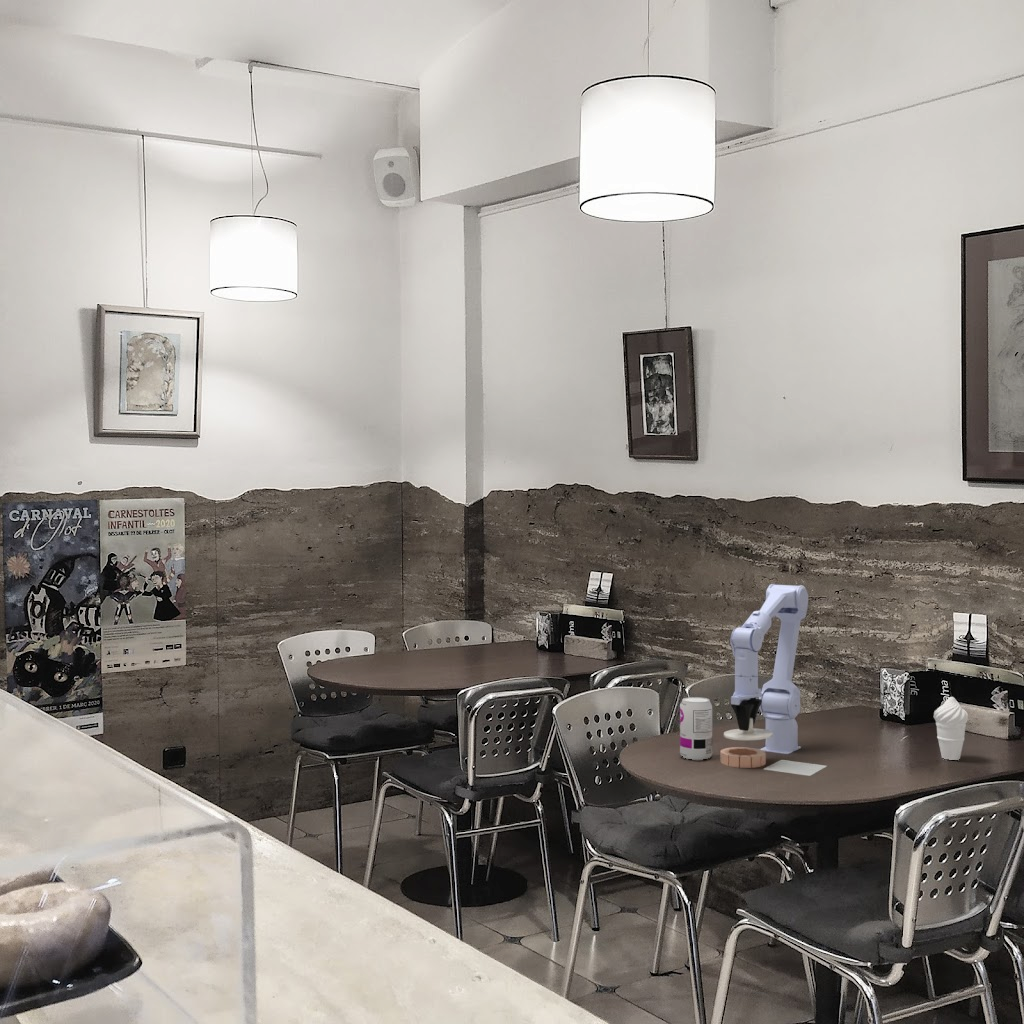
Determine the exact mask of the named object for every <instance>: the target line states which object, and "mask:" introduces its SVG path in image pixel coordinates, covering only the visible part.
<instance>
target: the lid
mask: <svg viewBox="0 0 1024 1024" xmlns="http://www.w3.org/2000/svg"><path fill="white" fill-rule="evenodd" d="M772 736H773V735H772V731H770V730H766V728H754V727H753V718H750V723H749V729H748V731H744V730H740V729H739V728H736V729H735V728H734V729H729V730H726V731H724V732H723V737H724V738H725V739H727V740H734V741H760V740H761V741H762V740H766V739H767V738H770V737H772Z"/></svg>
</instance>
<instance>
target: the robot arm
mask: <svg viewBox="0 0 1024 1024" xmlns="http://www.w3.org/2000/svg"><path fill="white" fill-rule="evenodd" d="M808 605H809V595H808V590H807V589H806V587H805V586H804V585H802V584H801V585H790V584H787V585H786V584H775V583H770V584H769V586H767V589H766V591H765V601H764V602H763V604H762V605H761V607H760V608H759V610H754V611H753V612H752V613H751V614H750V616H749V617H748V618H747V619H746V621H745V622H744V623H743V624H742V625H741V627H739V626H738V627H736V628H734V629H733V630H732V632H731V636H730V640H729V642H730V646H731V649H732V657H733V658H734V691H733V694H732V696H730V706H731V708H732V709H733V712H734V714H735V717H736V720H737V721H736V722H737V726H738V729H740V730H744V731H748V729H749V723H750V718H753V728H754V727H755V723H756V718H757V715H758V712H759V711H760V713H761V714H762V717H765V729H766V730H770V731H772V735H773V736H772V737H770V738H767V739H765V746H764V747H762V748H759V749H760V750H763V751H765V752H768V753H770V752H771V753H775V754H785V755H790V754H791V753H794V752H795V751H797V750H799V749H800V750H801V749H802V746H799V745H798V743H799V741H798V740H799V739H798V737H799V736H798V733H799V731H798V730H799V729H798V722H797V720H796V717H797V716H798V715H799V713H800V710H801V690H800V688H799V687H798V686H797V685H795V683H793V681H792V680H793V673H794V669H795V668H794V667H795V660H796V654H797V647H798V642H799V641H798V640H799V634H800V626H801V621H802V620H804V619H806V616H807V611H808ZM774 617H776V618H778V619H779V620H780V629H779V634H778V640H777V648H776V652H775V653H776V655H775V661H774V666H773V667H774V668H773V674H772V678H771V679H770V680H768V681H766V682H765V683H764V684H763V685H762V688H759V651H760V650H761V648H762V646H763V641H764V640H765V635H766V633H767V632H768V631H769V630H770V628H771V627H772V619H773V618H774Z"/></svg>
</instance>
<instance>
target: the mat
mask: <svg viewBox="0 0 1024 1024" xmlns="http://www.w3.org/2000/svg"><path fill="white" fill-rule="evenodd" d="M827 767H828V765H823V764H817V763H810V762H802V761H793V760H787V759H786V760H785V759H780V760H778V761H776V762H774V763H772V764H770V765H768V766H766V767H764V768H763V770H765V771H772V772H778V773H786V774H793V775H799V776H808V777H811V776H813V775H814V774H816V773H818V772H820V771H821V770H823V769H825V768H827Z"/></svg>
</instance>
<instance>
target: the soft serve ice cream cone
mask: <svg viewBox="0 0 1024 1024" xmlns="http://www.w3.org/2000/svg"><path fill="white" fill-rule="evenodd" d="M933 719H934V721H935V725H936V734H937V736H936V739H937V741H938V745H939V750H940V754H941V759H942V758H944V759H949V760H958V761H960V760H961V755H962V751H963V746H964V742H965V733H966V727H967V722H968V720H969V714H968V711H966V710H965V709H964V708H963V707H962V706H961V704H960V703H959V702H958V701H957V699H956V698H955V697H954V696H950V697H948V698H947V699H946V700H945V701H944V703H943V704H941V705H940V706H939V707H937V708H936V709H935V710H934V712H933ZM944 759H943V760H944ZM959 759H960V760H959Z"/></svg>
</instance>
